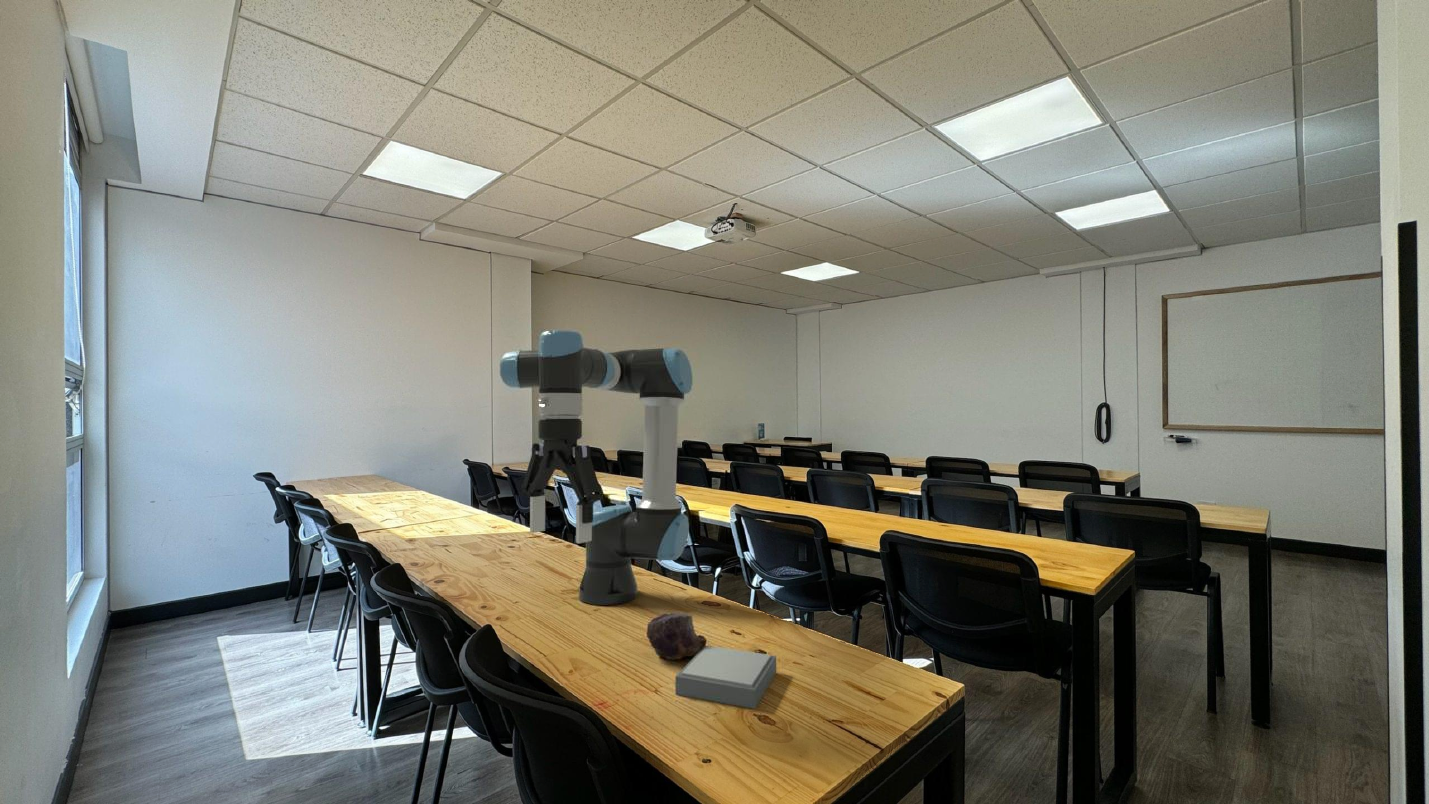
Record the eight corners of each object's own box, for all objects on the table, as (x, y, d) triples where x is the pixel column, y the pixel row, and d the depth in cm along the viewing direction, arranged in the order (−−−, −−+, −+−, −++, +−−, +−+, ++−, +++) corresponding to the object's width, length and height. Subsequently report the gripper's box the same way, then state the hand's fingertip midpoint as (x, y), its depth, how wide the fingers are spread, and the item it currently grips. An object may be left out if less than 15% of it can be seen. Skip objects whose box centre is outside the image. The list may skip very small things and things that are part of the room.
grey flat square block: (705, 661, 111) (705, 643, 111) (776, 672, 106) (776, 653, 106) (675, 694, 97) (675, 674, 97) (754, 709, 93) (754, 687, 93)
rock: (673, 647, 120) (635, 661, 113) (669, 605, 121) (632, 616, 114) (713, 654, 112) (675, 669, 105) (709, 609, 113) (671, 621, 106)
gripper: (503, 417, 108) (502, 530, 107) (588, 418, 92) (587, 551, 92) (538, 416, 114) (537, 524, 113) (623, 417, 98) (622, 542, 98)
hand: (559, 536), depth 103 cm, fingers open, 13 cm apart
